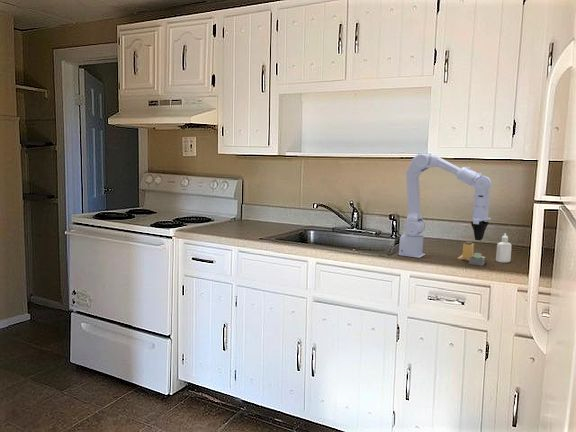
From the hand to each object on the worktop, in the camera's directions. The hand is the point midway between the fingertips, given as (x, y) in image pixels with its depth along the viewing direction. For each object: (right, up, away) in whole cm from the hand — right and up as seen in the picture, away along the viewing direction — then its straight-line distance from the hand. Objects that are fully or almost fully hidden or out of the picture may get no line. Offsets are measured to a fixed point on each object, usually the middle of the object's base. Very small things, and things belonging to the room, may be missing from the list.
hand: (478, 239), depth 193 cm
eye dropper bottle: (+12, -10, +6) cm, 17 cm away
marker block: (-1, -8, +9) cm, 12 cm away
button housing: (0, -10, +1) cm, 10 cm away
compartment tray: (+1, -9, +10) cm, 13 cm away
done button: (0, -9, +1) cm, 9 cm away
